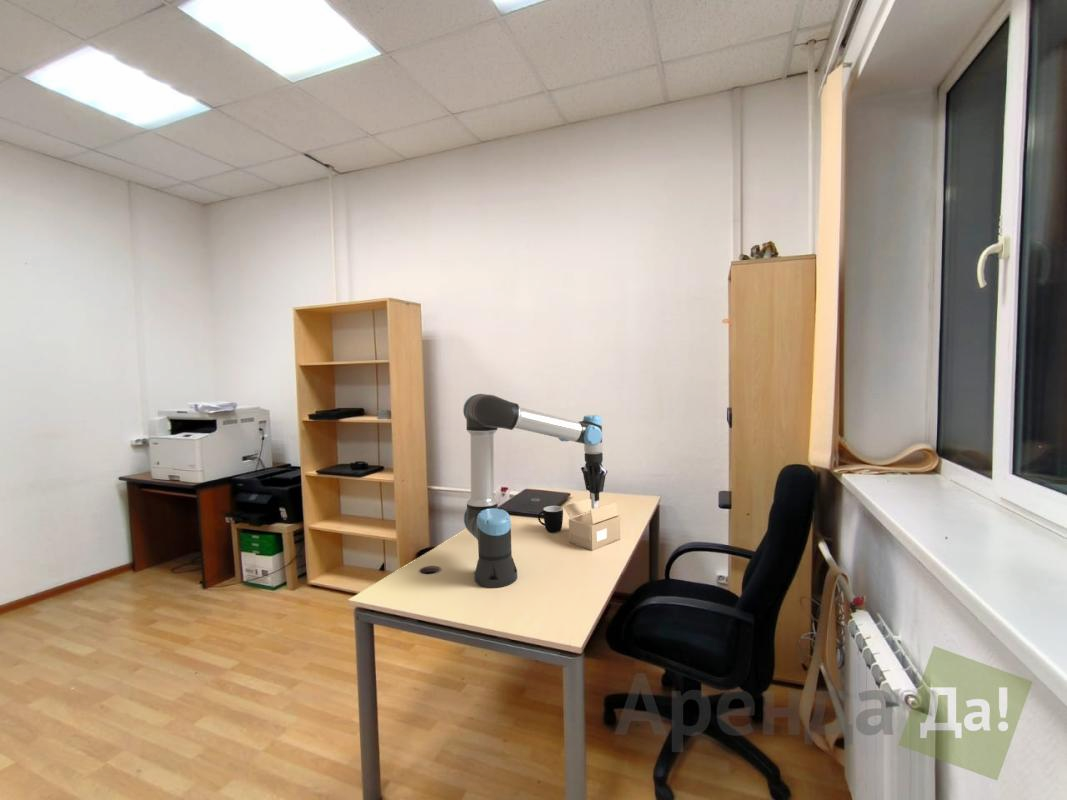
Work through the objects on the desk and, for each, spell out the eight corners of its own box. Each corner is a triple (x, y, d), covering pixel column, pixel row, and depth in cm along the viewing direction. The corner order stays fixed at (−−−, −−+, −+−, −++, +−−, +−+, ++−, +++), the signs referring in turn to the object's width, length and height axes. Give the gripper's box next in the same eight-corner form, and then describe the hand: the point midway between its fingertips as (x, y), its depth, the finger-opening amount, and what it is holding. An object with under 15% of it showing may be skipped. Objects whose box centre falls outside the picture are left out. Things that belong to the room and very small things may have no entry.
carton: (591, 551, 186) (590, 526, 185) (568, 542, 196) (567, 519, 195) (621, 539, 198) (620, 515, 197) (598, 531, 208) (597, 509, 207)
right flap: (592, 523, 187) (592, 524, 186) (590, 510, 187) (590, 510, 187) (617, 515, 197) (618, 515, 196) (615, 502, 197) (616, 502, 197)
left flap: (564, 505, 199) (563, 506, 199) (570, 517, 196) (570, 517, 196) (589, 498, 209) (589, 498, 209) (595, 508, 206) (595, 509, 206)
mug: (566, 528, 214) (565, 506, 213) (559, 535, 206) (558, 512, 205) (542, 525, 219) (541, 504, 218) (534, 531, 211) (533, 509, 210)
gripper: (611, 452, 192) (612, 509, 193) (588, 449, 202) (589, 503, 203) (599, 455, 187) (600, 513, 188) (575, 451, 197) (577, 506, 198)
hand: (594, 507), depth 196 cm, fingers closed
